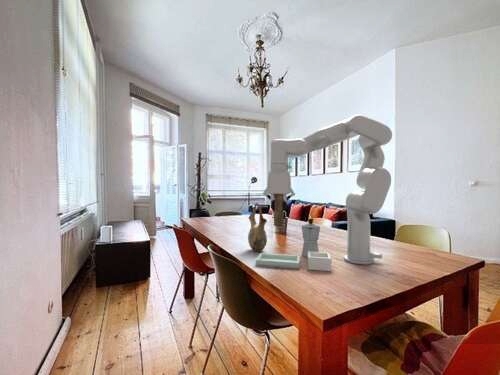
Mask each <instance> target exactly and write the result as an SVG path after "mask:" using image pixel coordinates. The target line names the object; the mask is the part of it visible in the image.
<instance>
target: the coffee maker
mask: <svg viewBox="0 0 500 375" xmlns="http://www.w3.org/2000/svg"><path fill="white" fill-rule="evenodd" d="M313 222H314V218H308V223H305V224H302V225H301V232H302V239H303V245H302V252H301V257H303V258H305V259H308V251H311V252H320V251H319V245H318V240H319V237H320V230H321V226H320V225H317V224H315V223H313Z"/></svg>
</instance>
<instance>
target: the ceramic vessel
mask: <svg viewBox="0 0 500 375" xmlns="http://www.w3.org/2000/svg"><path fill="white" fill-rule="evenodd" d="M257 206H258V207H257ZM257 208H258V212H259V214H258V216H259V217H258V218H259V221H258V224H257V221H256V209H257ZM248 220H249V222H250V229H249V231H248V235H247V241H248V245H249V247H250V248H251V250H252V251H254V252H256V253H257V252H258V253H259V252H260V253H261V252H262V251H264V249H265V248H266V246H267V243H268V242H267V241H268V237H267V232H266V229H265V227H266V226H265V225H266V224H267V222H268V220H267V219H266V218H264V215H263V211H262V206H261V204H260V203H259V202H256V203H255V204H254V205H253V209H252V212H251V213H250V214H249V216H248Z"/></svg>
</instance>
